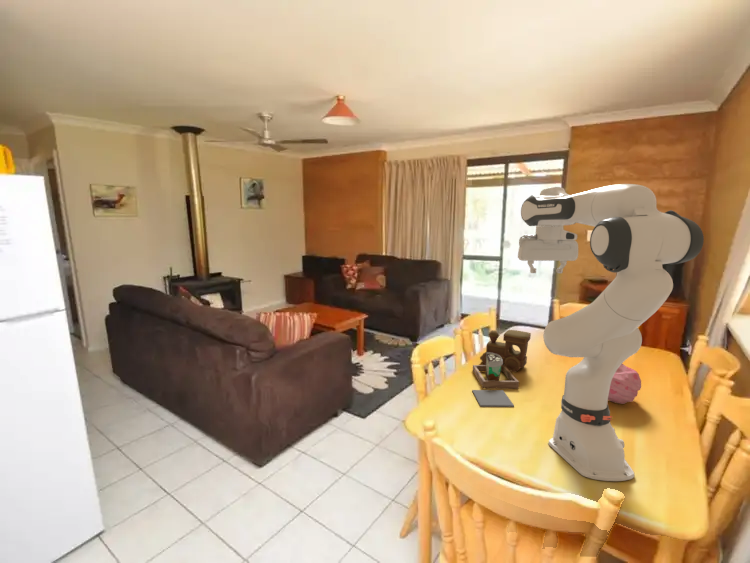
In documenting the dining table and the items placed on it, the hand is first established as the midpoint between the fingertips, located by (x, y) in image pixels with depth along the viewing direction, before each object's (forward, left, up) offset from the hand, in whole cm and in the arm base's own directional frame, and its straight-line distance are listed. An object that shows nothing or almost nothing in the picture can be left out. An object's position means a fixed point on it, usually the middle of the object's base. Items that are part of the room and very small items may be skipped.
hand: (546, 273), depth 131 cm
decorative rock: (-4, -27, -48) cm, 55 cm away
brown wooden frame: (+14, +12, -47) cm, 51 cm away
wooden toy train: (+29, +3, -48) cm, 56 cm away
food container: (+14, +12, -48) cm, 51 cm away
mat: (-3, +18, -47) cm, 51 cm away
